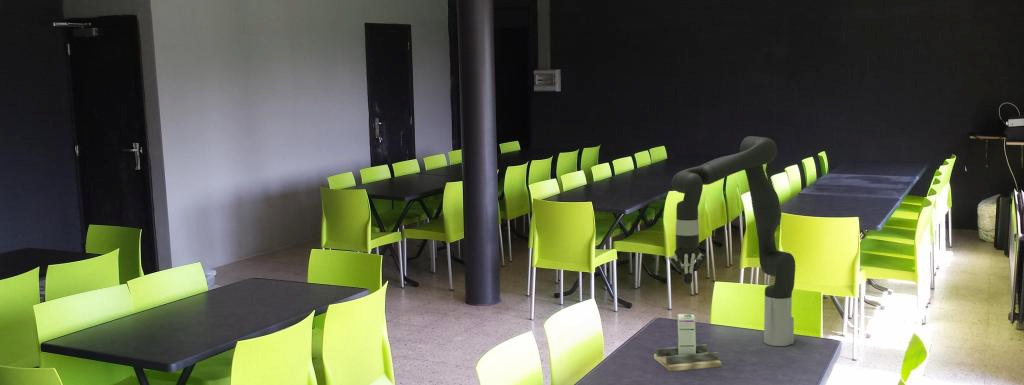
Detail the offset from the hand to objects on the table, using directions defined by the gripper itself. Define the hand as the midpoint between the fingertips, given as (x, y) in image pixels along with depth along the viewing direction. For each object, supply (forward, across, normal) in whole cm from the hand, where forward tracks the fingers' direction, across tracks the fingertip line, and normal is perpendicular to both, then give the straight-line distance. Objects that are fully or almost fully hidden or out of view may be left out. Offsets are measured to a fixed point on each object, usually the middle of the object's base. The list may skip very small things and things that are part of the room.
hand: (687, 283), depth 296 cm
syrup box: (+26, 0, 0) cm, 26 cm away
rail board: (+27, 0, 0) cm, 27 cm away
